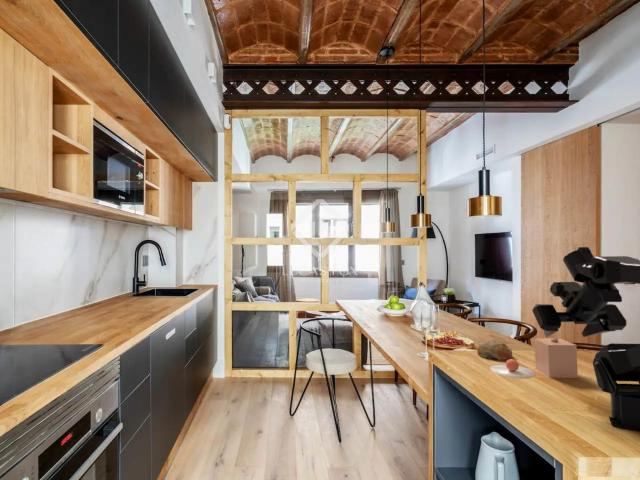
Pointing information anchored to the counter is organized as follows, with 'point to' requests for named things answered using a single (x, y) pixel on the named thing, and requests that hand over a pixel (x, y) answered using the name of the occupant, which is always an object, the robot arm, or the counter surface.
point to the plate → (513, 372)
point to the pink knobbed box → (556, 358)
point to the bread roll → (495, 350)
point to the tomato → (512, 365)
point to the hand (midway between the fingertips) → (564, 335)
